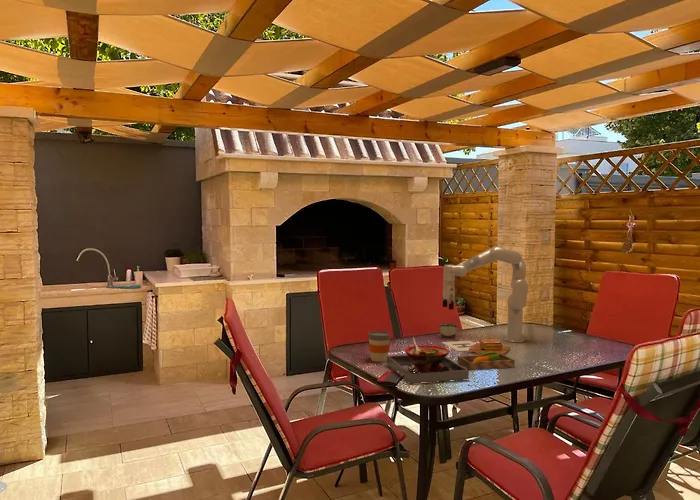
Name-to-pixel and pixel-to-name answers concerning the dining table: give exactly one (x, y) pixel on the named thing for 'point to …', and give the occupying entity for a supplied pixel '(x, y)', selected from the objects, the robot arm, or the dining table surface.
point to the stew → (427, 358)
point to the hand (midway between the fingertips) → (447, 308)
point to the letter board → (459, 345)
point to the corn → (487, 357)
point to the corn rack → (485, 362)
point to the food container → (448, 330)
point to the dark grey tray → (454, 374)
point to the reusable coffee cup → (379, 345)
